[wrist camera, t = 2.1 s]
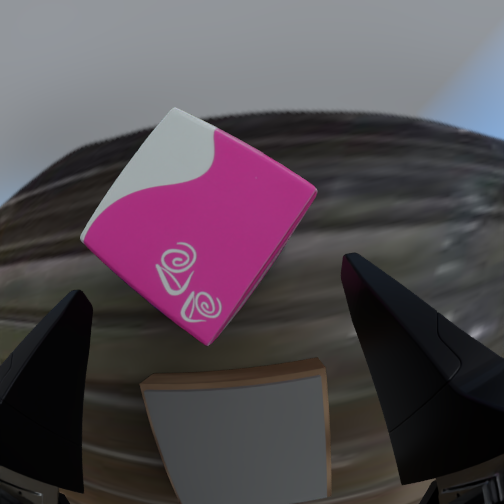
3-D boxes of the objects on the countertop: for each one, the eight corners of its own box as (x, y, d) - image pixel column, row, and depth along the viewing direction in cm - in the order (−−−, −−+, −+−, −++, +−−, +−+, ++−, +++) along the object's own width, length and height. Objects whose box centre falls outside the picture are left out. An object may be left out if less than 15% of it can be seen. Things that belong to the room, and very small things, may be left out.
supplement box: (173, 264, 19) (71, 235, 8) (221, 196, 19) (177, 96, 8) (239, 312, 18) (206, 352, 7) (289, 241, 19) (327, 178, 7)
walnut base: (325, 478, 16) (332, 498, 13) (187, 488, 16) (179, 508, 13) (317, 357, 18) (327, 369, 15) (153, 373, 18) (137, 385, 15)
